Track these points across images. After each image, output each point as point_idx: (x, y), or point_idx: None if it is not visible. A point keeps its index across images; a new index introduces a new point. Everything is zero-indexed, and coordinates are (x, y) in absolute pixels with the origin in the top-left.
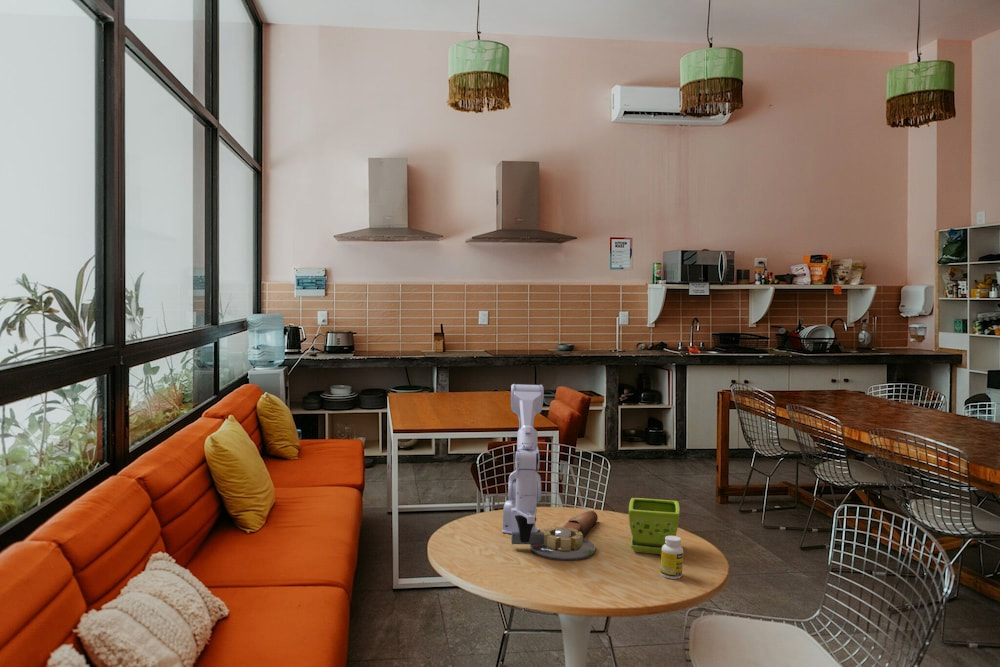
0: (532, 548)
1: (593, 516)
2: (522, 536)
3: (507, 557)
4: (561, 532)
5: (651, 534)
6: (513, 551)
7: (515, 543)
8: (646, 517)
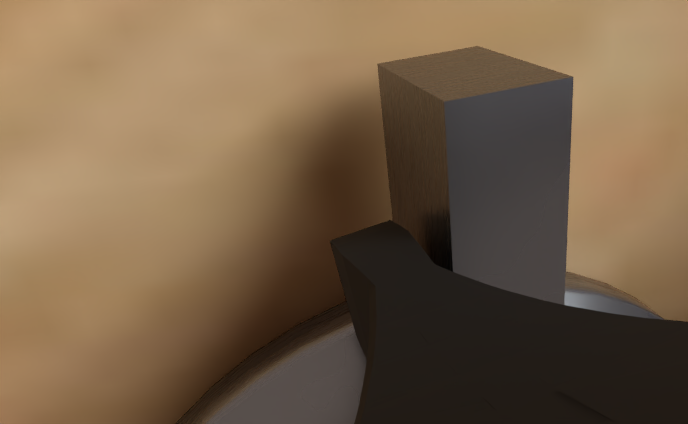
0: (333, 334)
1: None
2: (362, 303)
3: (2, 3)
4: None
5: None
6: (299, 79)
7: (385, 124)
8: None
